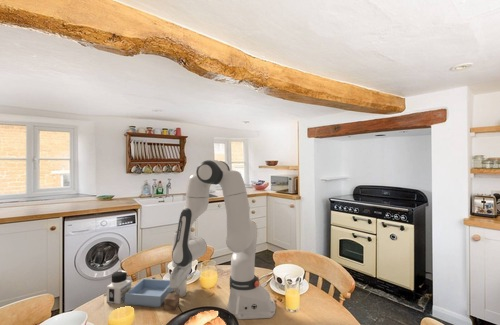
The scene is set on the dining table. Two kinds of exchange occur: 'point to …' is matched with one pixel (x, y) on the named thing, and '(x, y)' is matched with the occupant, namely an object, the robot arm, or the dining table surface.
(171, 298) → the walnut cube
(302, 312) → the dining table surface
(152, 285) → the tote
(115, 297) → the container
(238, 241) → the robot arm
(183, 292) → the cream cylinder
